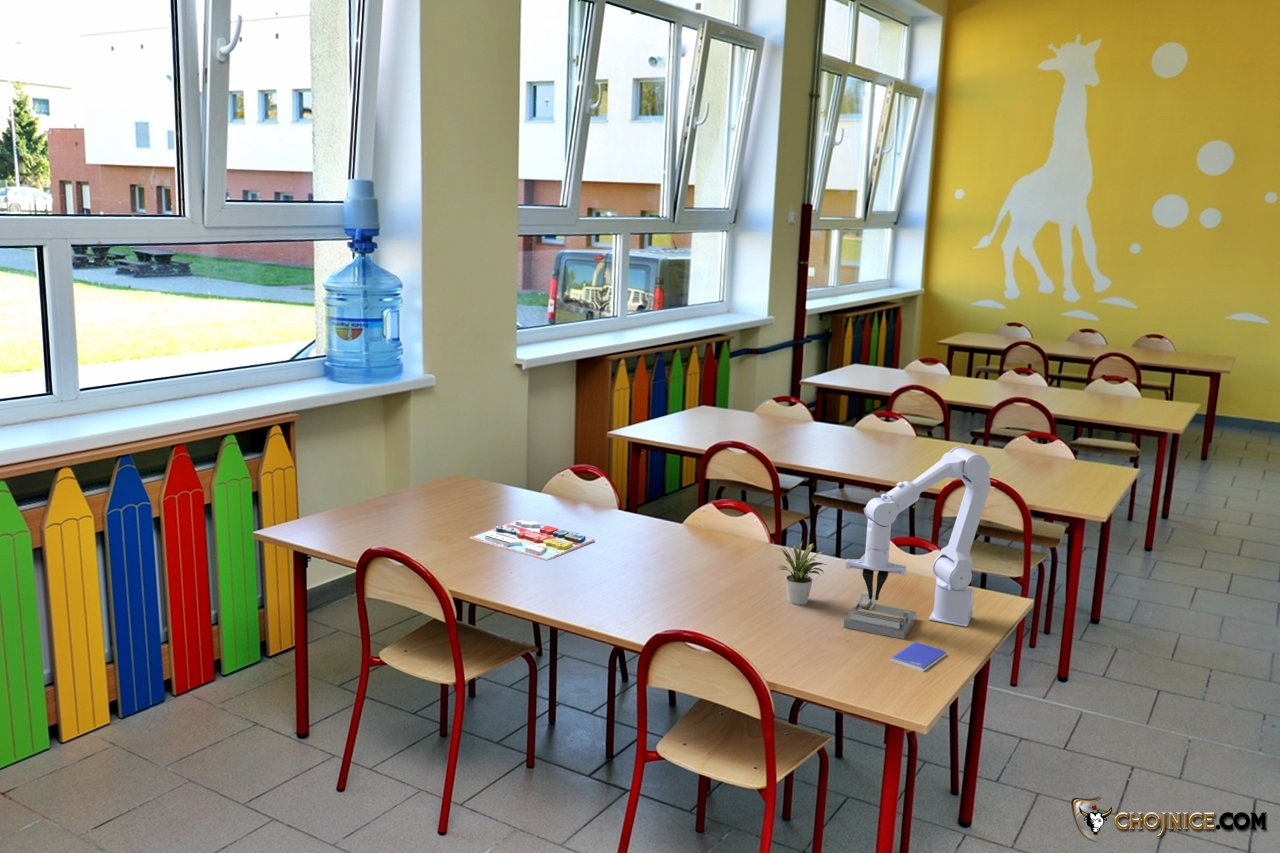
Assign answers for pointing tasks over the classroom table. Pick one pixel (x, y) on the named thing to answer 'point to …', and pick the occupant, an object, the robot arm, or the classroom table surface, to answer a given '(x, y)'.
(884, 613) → the tan rectangular plate
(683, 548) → the classroom table surface
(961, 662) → the classroom table surface
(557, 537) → the puzzle board
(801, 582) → the house plant
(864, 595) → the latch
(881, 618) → the grey slotted fixture base
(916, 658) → the hard drive
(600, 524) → the classroom table surface
